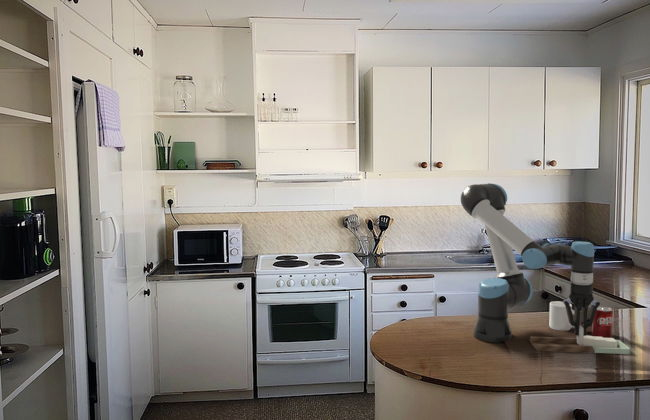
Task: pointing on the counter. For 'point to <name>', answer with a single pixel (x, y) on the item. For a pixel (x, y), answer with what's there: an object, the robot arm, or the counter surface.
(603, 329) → the soda can
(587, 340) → the pale grey cube
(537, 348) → the slot board
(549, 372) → the counter surface
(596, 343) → the white cube
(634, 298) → the counter surface
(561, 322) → the mug
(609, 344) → the cream cube
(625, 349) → the tray
